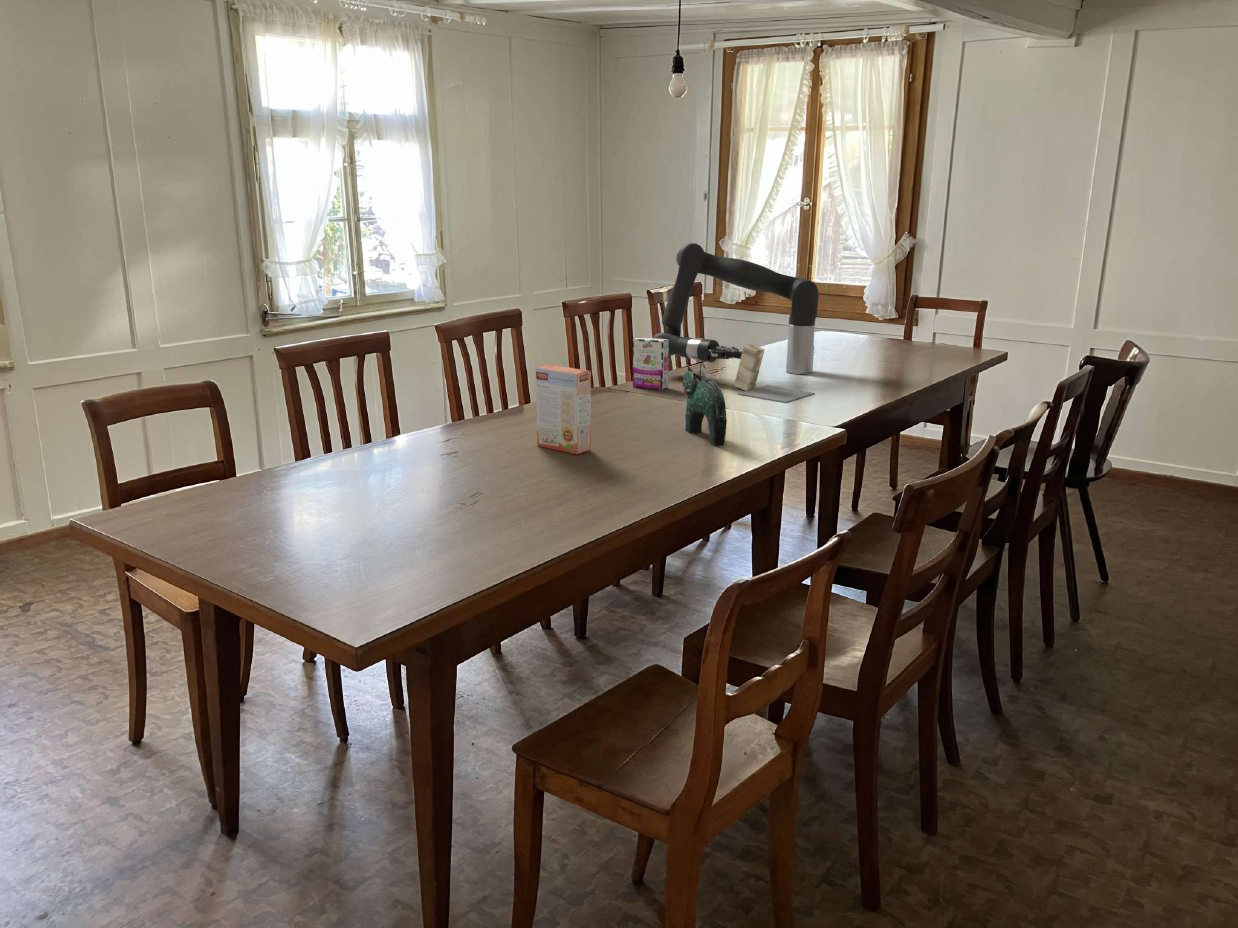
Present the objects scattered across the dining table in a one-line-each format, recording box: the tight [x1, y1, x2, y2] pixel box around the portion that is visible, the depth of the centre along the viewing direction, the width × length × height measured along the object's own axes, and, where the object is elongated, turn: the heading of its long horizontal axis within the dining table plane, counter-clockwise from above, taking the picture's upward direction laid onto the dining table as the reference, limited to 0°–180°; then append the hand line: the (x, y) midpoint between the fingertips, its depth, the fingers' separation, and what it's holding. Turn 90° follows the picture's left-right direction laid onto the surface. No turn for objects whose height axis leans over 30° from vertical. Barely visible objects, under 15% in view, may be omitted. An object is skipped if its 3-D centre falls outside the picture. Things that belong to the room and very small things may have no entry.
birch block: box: [733, 343, 765, 391], centre depth 320 cm, size 5×5×14 cm
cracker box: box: [535, 364, 592, 455], centre depth 247 cm, size 14×6×21 cm, turn 51°
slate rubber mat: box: [737, 384, 816, 404], centre depth 316 cm, size 18×18×1 cm
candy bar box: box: [632, 336, 669, 391], centre depth 322 cm, size 11×5×16 cm, turn 62°
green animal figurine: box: [682, 362, 728, 447], centre depth 260 cm, size 20×6×20 cm, turn 21°
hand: (745, 355), depth 321 cm, fingers closed
